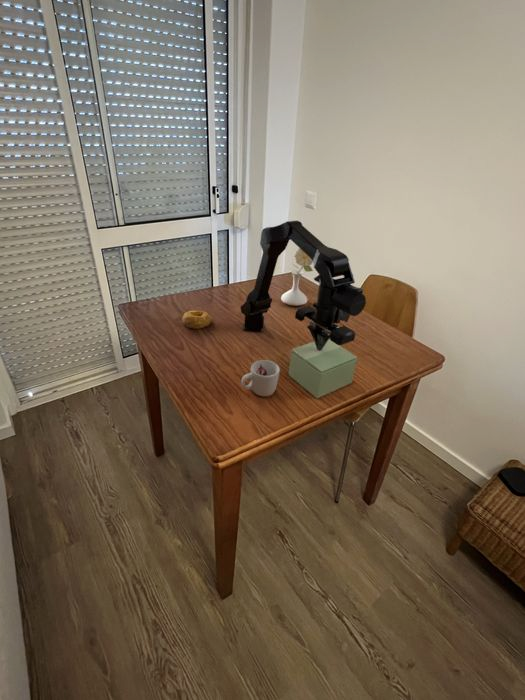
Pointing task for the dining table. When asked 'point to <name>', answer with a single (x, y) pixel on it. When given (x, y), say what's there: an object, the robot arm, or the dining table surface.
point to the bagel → (196, 319)
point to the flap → (314, 349)
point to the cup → (262, 377)
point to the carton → (323, 371)
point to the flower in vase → (297, 280)
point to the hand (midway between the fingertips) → (319, 349)
